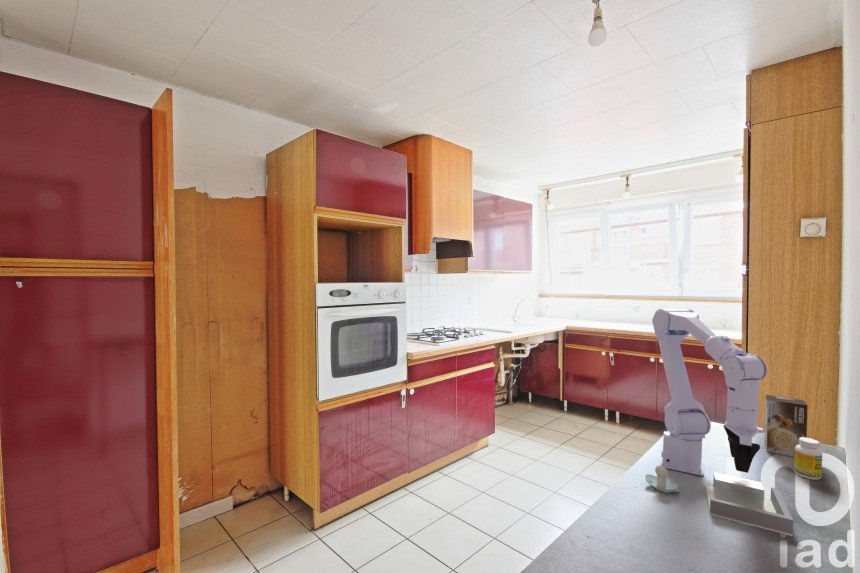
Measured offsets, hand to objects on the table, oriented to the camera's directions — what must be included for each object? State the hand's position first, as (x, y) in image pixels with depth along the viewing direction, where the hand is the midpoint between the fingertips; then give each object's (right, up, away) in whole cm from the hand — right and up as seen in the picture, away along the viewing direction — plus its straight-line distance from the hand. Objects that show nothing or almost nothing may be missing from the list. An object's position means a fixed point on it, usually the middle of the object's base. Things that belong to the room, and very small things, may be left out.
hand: (739, 464), depth 95 cm
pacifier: (-14, -9, +7) cm, 18 cm away
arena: (0, -10, -2) cm, 10 cm away
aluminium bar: (0, -9, 0) cm, 9 cm away
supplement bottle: (+29, -9, +14) cm, 33 cm away
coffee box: (+35, -9, +28) cm, 45 cm away
